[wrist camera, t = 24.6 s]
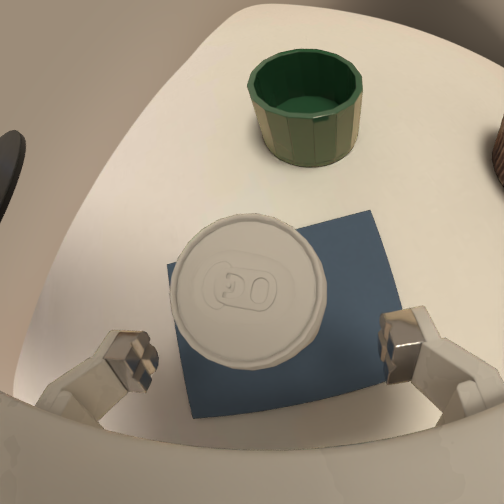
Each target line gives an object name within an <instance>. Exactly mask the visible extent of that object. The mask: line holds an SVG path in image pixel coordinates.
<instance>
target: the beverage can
mask: <svg viewBox="0 0 504 504" xmlns="http://www.w3.org/2000/svg"><path fill="white" fill-rule="evenodd" d="M170 302H171V309H172V315H173V317H174V320H175V322H176V324H177V327H178V329H179V331H180V333H181V334H182V336H183V337H184V338H185V339H186V341H187V342H188V343H189V345H190V346H191V347H192V348H193V349H195V350H196V351H197V352H199V353H200V354H201V355H203V356H204V357H205V358H207V359H208V360H211V361H213V362H216V363H219V364H221V365H224V366H226V367H229V368H232V369H241V370H259V369H264V368H269V367H274V366H277V365H279V364H281V363H283V362H285V361H287V360H289V359H291V358H292V357H294V356H296V355H297V354H298V353H299V352H300V351H301V350H303V349H304V348H305V347H307V346H308V345H309V344H310V343H311V342H313V340H314V339H315V337H316V335H317V334H318V331H319V328H320V325H321V322H322V319H323V315H324V312H325V308H326V305H327V281H326V277H325V274H324V270H323V266H322V263H321V261H320V259H319V258H318V256H317V254H316V253H315V251H314V249H313V248H312V246H311V245H310V244H309V243H308V241H307V240H306V239H305V238H304V237H303V236H302V235H301V234H300V233H299V232H298V231H297V230H296V229H294V228H293V227H292V226H290V225H288V224H287V223H285V222H283V221H281V220H279V219H277V218H275V217H270V216H266V215H261V214H257V213H255V214H236V215H233V216H229V217H226V218H222V219H219V220H217V221H215V222H214V223H212V224H210V225H208V226H207V227H205V228H203V229H202V230H201V231H200V232H199V233H198V234H196V235H195V236H194V237H193V238H192V239H191V240H190V241H189V242H188V244H187V245H186V247H185V248H184V250H183V251H182V253H181V254H180V256H179V257H178V260H177V262H176V265H175V268H174V270H173V273H172V277H171V286H170Z"/></svg>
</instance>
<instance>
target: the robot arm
mask: <svg viewBox="0 0 504 504" xmlns="http://www.w3.org/2000/svg"><path fill="white" fill-rule="evenodd" d="M379 324H380V327H381V330H380V331H379V332H378V352H379V357H380V360H381V361H383V362H384V366H383V373H384V377H385V380H386V384H387V385H392V384H398V383H404V382H409V381H411V383H412V384H413V385H414V386H415V387H416V388H417V389H418V390H419V391H420V392H422V393H423V394H424V395H425V396H426V397H427V398H428V399H429V400H430V401H431V402H432V403H433V404H434V405H435V406H436V407H437V408H438V409H439V410H440V411H441V412H443V414H442V415H441V417H440V419H439V421H438V422H437V424H436V426H435V427H433V428H430V429H426V430H422V431H418V432H414V433H410V434H406V435H402V436H397V437H392V438H387V439H382V440H376V441H371V442H364V443H358V444H351V445H343V446H334V447H324V448H311V449H293V450H240V449H221V448H209V447H198V446H189V445H181V444H174V443H167V442H161V441H155V440H149V439H144V438H139V437H134V436H130V435H125V434H121V433H116V432H112V431H108V430H105V429H104V428H103V427H102V426H101V425H100V424H99V423H98V420H99V419H101V418H102V417H103V416H104V415H105V414H106V413H107V412H108V411H109V410H110V409H111V408H112V407H113V406H114V405H115V404H116V403H118V402H119V401H120V400H121V399H122V398H123V397H124V396H125V395H126V394H127V393H128V391H129V392H139V393H147V390H148V388H149V386H150V383H151V381H152V378H151V374H153V373H154V372H155V371H156V369H157V367H158V361H159V357H158V353H157V350H156V349H155V347H154V346H152V345H151V344H150V343H149V342H150V337H149V336H148V334H147V332H144V331H130V330H112V331H110V332H109V333H108V334H107V336H106V337H105V339H104V340H103V342H102V343H101V345H100V346H99V348H98V349H97V351H96V352H95V354H94V356H93V357H92V358H88V359H86V360H85V361H83V362H82V363H80V364H79V365H77V366H76V367H74V368H73V369H71V370H70V371H68V372H67V373H65V374H64V375H62V376H61V377H59V378H58V379H56V380H55V381H53V382H52V383H50V384H49V385H48V386H47V387H46V389H45V390H44V392H43V394H42V395H41V397H40V398H39V400H38V402H37V403H36V405H35V406H33V405H30V404H28V403H26V402H23V401H21V400H19V399H17V398H14V397H12V396H10V395H8V394H5V393H4V392H2V391H0V504H504V382H503V380H502V378H501V376H500V374H499V372H498V370H497V369H496V368H494V367H493V366H491V365H489V364H488V363H486V362H485V361H483V360H481V359H480V358H478V357H476V356H475V355H473V354H472V353H470V352H468V351H467V350H465V349H463V348H462V347H460V346H458V345H457V344H455V343H453V342H452V341H450V340H449V339H447V338H441V336H440V334H439V332H438V330H437V328H436V327H435V325H434V323H433V321H432V319H431V317H430V315H429V313H428V311H427V309H426V308H425V307H424V306H418V307H413V308H409V309H403V310H397V311H392V312H385V313H381V314H380V319H379Z"/></svg>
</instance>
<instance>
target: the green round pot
mask: <svg viewBox="0 0 504 504" xmlns="http://www.w3.org/2000/svg"><path fill="white" fill-rule="evenodd" d="M247 88H248V91H249V94H250V97H251V100H252V103H253V107H254V110H255V113H256V116H257V119H258V123H259V126H260V129H261V132H262V136H263V139H264V142H265V144H266V146H267V147H268V149H269V150H270V151H271V152H272V153H273V154H274V155H275V156H276V157H278V158H279V159H281V160H283V161H285V162H287V163H290V164H292V165H297V166H302V167H319V166H325V165H328V164H332V163H334V162H336V161H338V160H340V159H342V158H343V157H344V156H346V155H347V154H348V153H349V152H350V151H351V149H352V148H353V146H354V144H355V142H356V139H357V136H358V131H359V122H360V114H361V104H362V94H363V85H362V76H361V74H360V73H359V72H358V70H357V69H356V68H355V66H354V65H353V64H352V63H351V62H349V61H347V60H346V59H344V58H343V57H341V56H339V55H337V54H334V53H331V52H327V51H323V50H318V49H295V50H290V51H285V52H280V53H277V54H275V55H273V56H271V57H269V58H267V59H265V60H263V61H262V62H261V63H260V64H259V65H258V66H257V67H256V68H255V69H254V70H253V71H252V72H251V74H250V78H249V81H248V84H247Z"/></svg>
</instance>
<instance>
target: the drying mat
mask: <svg viewBox="0 0 504 504" xmlns="http://www.w3.org/2000/svg"><path fill="white" fill-rule="evenodd" d="M296 230H297V231H298V232H299V233H300V234H301V235H302V236H303V237H304V238H305V239H306V240H307V241H308V243H309V244H310V245H311V246H312V248H313V249H314V251H315V253H316V254H317V256H318V258H319V259H320V261H321V263H322V266H323V270H324V274H325V277H326V281H327V305H326V308H325V312H324V315H323V319H322V322H321V325H320V328H319V331H318V334H317V335H316V337H315V339H314V340H313V342H311V343H310V344H309V345H308V346H307V347H305V348H304V349H303V350H301V351H300V352H299V353H298V354H297V355H296V356H294V357H292V358H291V359H289V360H287V361H285V362H283V363H281V364H279V365H277V366H274V367H269V368H264V369H259V370H241V369H232V368H229V367H226V366H224V365H221V364H219V363H216V362H213V361H211V360H208V359H207V358H205V357H204V356H203V355H201V354H200V353H199V352H197V351H196V350H195V349H193V348H192V347H191V346H190V345H189V343H188V342H187V341H186V339H185V338H184V337H183V336H182V334H181V333H180V331H179V329H178V327H177V324H176V322H175V320H174V322H175V328H176V334H177V341H178V347H179V352H180V358H181V363H182V369H183V374H184V379H185V384H186V389H187V394H188V399H189V403H190V408H191V412H192V417H193V419H195V418H208V417H219V416H228V415H237V414H245V413H252V412H259V411H265V410H271V409H277V408H283V407H288V406H293V405H298V404H303V403H308V402H312V401H317V400H321V399H325V398H329V397H333V396H337V395H341V394H345V393H348V392H352V391H356V390H359V389H363V388H366V387H369V386H372V385H376V384H379V383H382V382H385V381H386V380H385V377H384V373H383V366H384V362H383V361H381V360H380V357H379V352H378V332H379V331H380V330H381V327H380V324H379V319H380V314H381V313H385V312H392V311H397V310H402V306H401V302H400V299H399V295H398V292H397V288H396V285H395V281H394V278H393V275H392V271H391V268H390V265H389V262H388V259H387V256H386V252H385V249H384V247H383V244H382V241H381V238H380V235H379V232H378V229H377V227H376V224H375V221H374V218H373V216H372V213H371V210H368V211H364V212H360V213H356V214H352V215H348V216H345V217H341V218H337V219H333V220H329V221H326V222H322V223H318V224H314V225H310V226H307V227H303V228H299V229H296ZM175 265H176V262H174V263H170V264H167V269H168V277H169V286H171V277H172V273H173V270H174V268H175Z"/></svg>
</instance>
